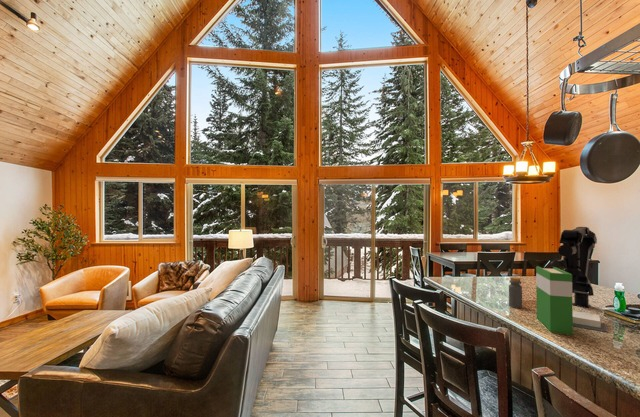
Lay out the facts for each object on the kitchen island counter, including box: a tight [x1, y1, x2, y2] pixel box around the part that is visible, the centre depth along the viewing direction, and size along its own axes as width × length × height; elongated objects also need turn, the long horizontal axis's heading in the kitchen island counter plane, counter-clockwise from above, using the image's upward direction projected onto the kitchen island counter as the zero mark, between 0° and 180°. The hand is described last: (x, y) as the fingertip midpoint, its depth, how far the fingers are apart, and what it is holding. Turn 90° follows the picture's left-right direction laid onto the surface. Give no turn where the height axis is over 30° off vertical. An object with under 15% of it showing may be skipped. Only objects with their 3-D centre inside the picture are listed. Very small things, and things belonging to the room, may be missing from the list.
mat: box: [573, 322, 609, 333], centre depth 135 cm, size 12×15×1 cm
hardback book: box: [535, 265, 574, 336], centre depth 132 cm, size 18×7×24 cm, turn 160°
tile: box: [573, 310, 602, 329], centre depth 136 cm, size 3×11×11 cm
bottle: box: [508, 276, 523, 309], centre depth 161 cm, size 6×6×15 cm
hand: (572, 286), depth 154 cm, fingers closed
